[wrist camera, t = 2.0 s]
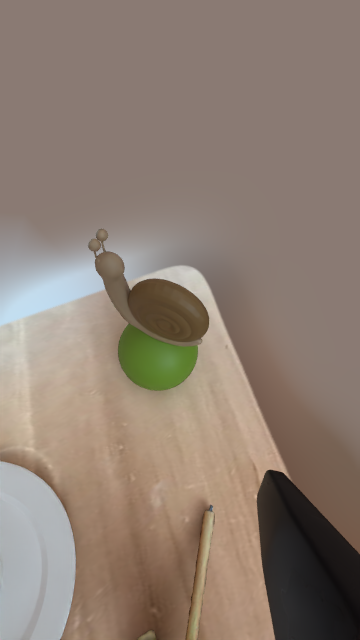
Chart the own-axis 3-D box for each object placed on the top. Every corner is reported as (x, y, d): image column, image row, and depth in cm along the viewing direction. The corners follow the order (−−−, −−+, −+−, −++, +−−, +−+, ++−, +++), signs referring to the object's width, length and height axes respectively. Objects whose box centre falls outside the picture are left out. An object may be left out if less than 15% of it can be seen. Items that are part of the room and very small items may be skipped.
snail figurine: (128, 317, 25) (120, 195, 14) (200, 347, 24) (247, 243, 14) (95, 376, 22) (56, 279, 12) (175, 411, 22) (210, 342, 11)
